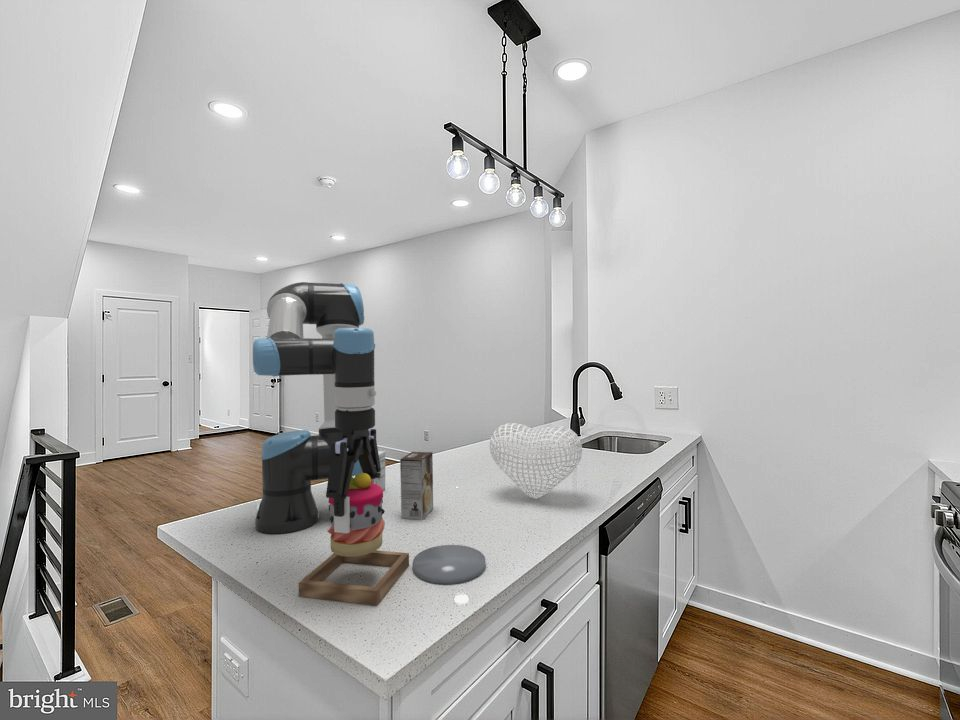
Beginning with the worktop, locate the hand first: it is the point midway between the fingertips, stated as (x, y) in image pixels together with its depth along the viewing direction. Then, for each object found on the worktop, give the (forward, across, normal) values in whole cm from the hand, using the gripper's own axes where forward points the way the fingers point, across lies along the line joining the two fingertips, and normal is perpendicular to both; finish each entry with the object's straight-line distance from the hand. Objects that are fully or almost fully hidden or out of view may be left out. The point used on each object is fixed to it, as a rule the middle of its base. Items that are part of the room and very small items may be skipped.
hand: (356, 520), depth 90 cm
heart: (+12, +55, -30) cm, 64 cm away
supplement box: (+13, +51, +22) cm, 57 cm away
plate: (+11, +8, -16) cm, 22 cm away
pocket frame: (+11, -1, 0) cm, 11 cm away
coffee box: (+12, +36, +1) cm, 38 cm away
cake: (+5, 0, 0) cm, 5 cm away
